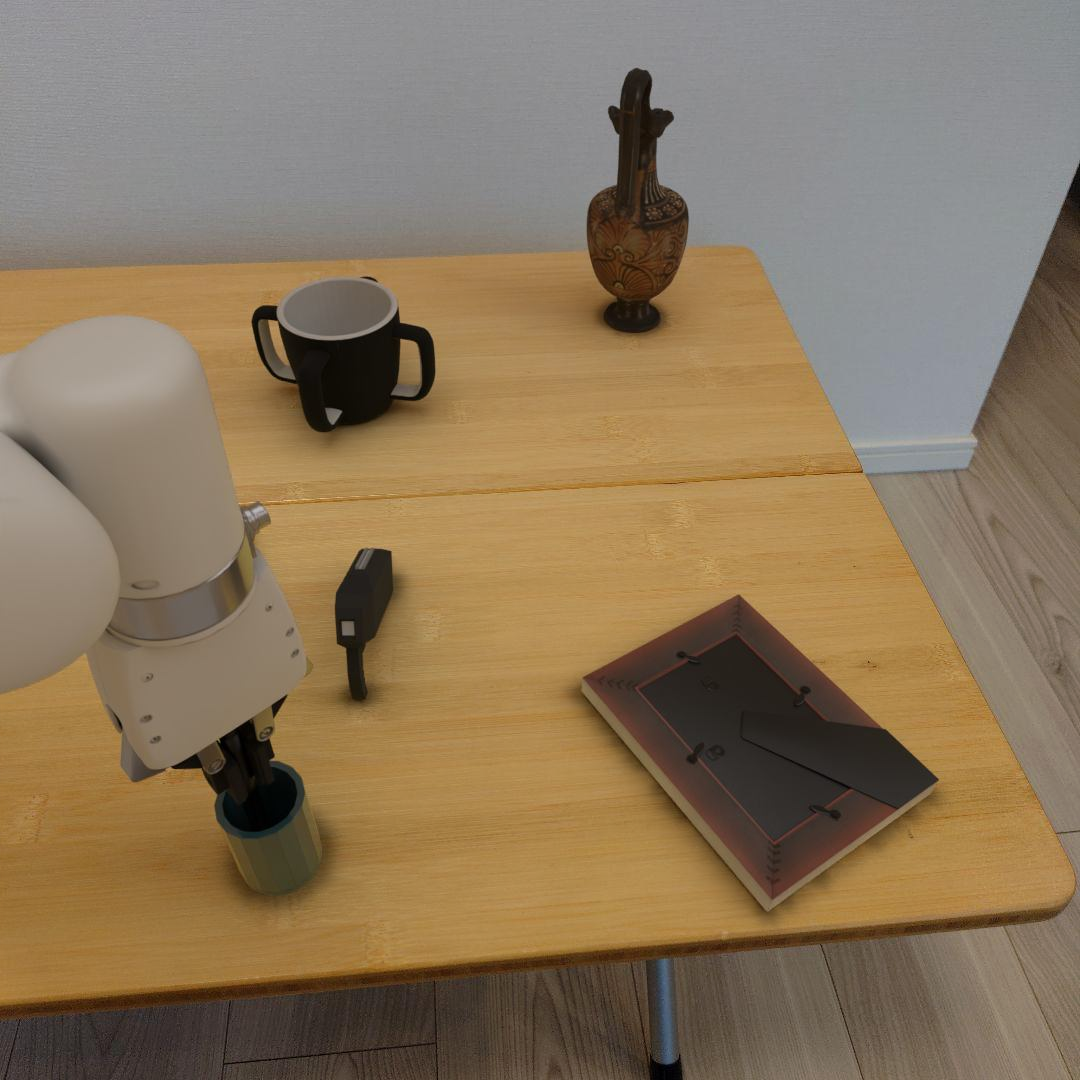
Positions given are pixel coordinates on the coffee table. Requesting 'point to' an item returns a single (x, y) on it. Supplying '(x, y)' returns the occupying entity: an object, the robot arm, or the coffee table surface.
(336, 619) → the gun
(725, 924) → the coffee table surface
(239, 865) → the pen cup
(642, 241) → the vase
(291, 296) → the mug
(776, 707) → the picture frame
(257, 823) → the stylus
